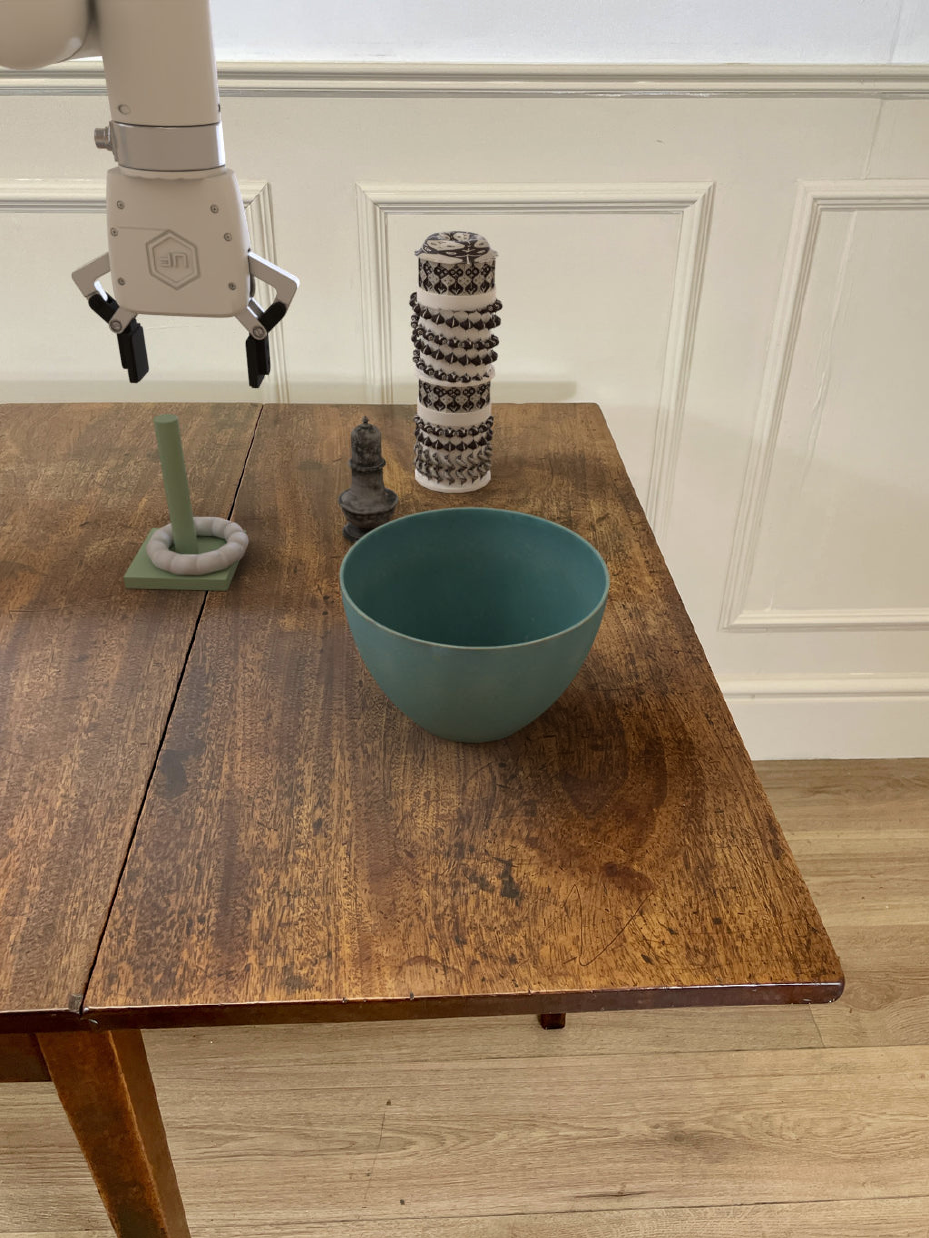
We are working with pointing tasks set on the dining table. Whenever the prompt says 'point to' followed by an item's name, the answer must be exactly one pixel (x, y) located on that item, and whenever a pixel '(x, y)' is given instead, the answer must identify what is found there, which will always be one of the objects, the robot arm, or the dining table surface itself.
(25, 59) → the robot arm
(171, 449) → the rack
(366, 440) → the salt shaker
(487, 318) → the decorative candle
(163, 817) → the dining table surface
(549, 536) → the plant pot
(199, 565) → the ring
